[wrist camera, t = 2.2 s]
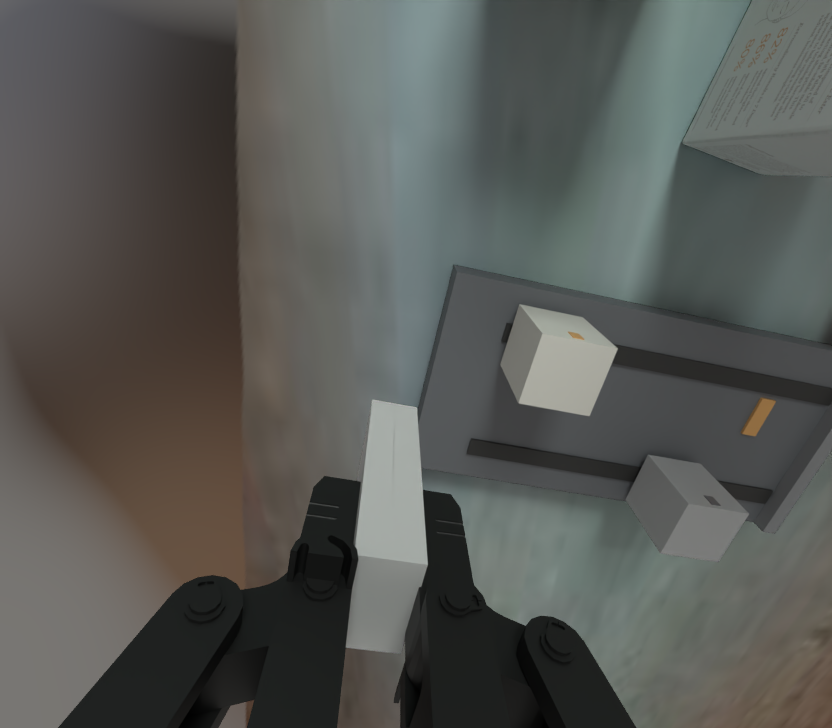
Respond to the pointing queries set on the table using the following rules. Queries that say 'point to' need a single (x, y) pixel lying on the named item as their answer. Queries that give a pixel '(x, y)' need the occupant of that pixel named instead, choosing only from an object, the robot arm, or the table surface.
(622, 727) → the robot arm
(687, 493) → the fader
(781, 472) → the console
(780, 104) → the small box
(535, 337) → the block
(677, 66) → the table surface
